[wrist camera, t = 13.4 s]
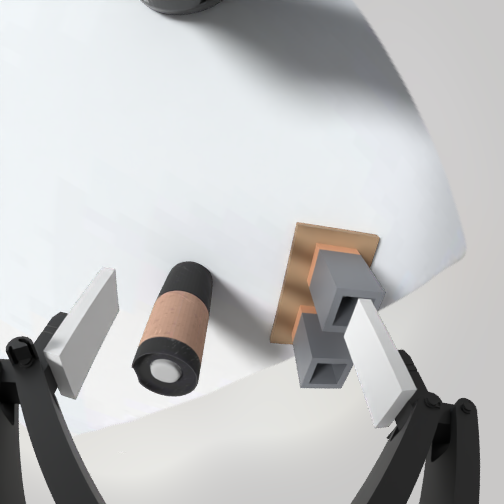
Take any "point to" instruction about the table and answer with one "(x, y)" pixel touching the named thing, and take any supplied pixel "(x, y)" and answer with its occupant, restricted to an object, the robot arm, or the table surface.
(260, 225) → the table surface
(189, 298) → the travel mug
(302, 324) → the banded sleeve
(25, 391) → the robot arm
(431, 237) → the table surface
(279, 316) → the pinboard
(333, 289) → the seated sleeve
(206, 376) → the table surface
